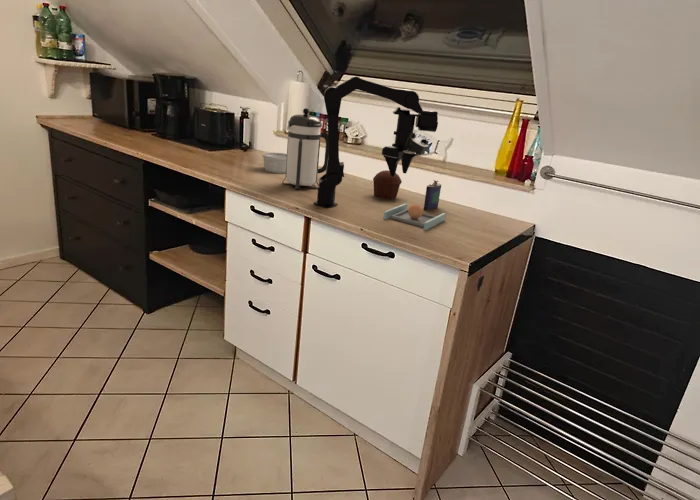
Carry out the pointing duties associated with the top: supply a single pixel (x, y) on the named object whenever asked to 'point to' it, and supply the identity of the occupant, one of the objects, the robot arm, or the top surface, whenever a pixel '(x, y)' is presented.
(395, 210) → the acrylic walls
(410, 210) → the ball
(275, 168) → the ramekin
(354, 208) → the top surface
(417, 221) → the dish
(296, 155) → the coffee press
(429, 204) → the flask
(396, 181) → the muffin
